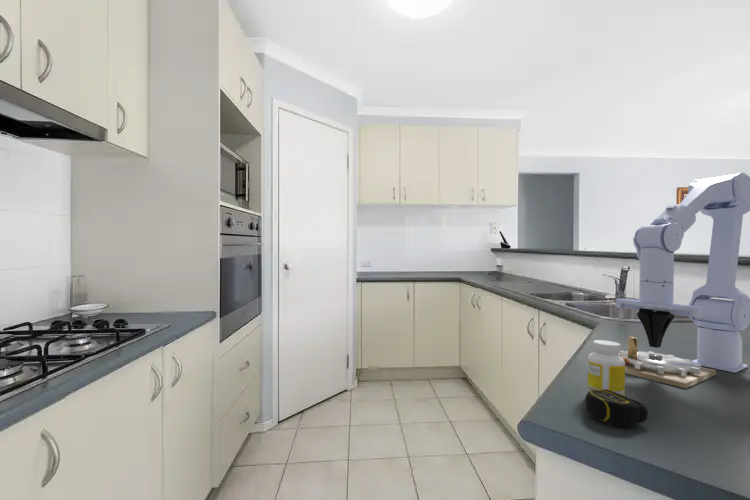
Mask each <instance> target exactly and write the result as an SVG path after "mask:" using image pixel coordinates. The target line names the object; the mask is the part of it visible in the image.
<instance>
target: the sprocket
mask: <svg viewBox="0 0 750 500" xmlns="http://www.w3.org/2000/svg"><path fill="white" fill-rule="evenodd" d="M618 355H619V356H620V357H622V358H623V359H624V361H625V364H628V365H631V366H634V367H635V368H636V369H646V370H651V371H656V372H657V373H661V374H664V373H672V374H678V375H681V376H686V374H690V373H691V374H696V375H699V374H700V371H701V367H702V366H701V365H700V364H693V363H692V361H693V360H692V359H687V358H680V357H677V356H675V355H674V354H663V353H657V352H654V351H649V350H648V351H639V338H638V337H635V336H627V350H626V351H624V350H620V353H618Z"/></svg>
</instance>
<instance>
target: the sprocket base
mask: <svg viewBox="0 0 750 500" xmlns="http://www.w3.org/2000/svg"><path fill="white" fill-rule="evenodd" d="M625 374H627V375H631V376H635V377H639V378H643V379H647V380H650V381H655V382H659V383H662V384H667V385H671V386H674V387H678V388H682V389H685V390H686V389H688V388H690V387H693V386H695V385H697V384H699V383H701V382H703V381H705V380H707V379H710V378H712V377H714V376H716V375H717V369H714V368H709V367H705V366H701V371H700V374H699V375H696V374H691V373H690V374H686V376H681V375H678V374H672V373H664V374H661V373H657V372H656V371H651V370H646V369H636V368H635V367H634V366H631V365H628V364H625Z"/></svg>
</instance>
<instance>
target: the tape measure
mask: <svg viewBox="0 0 750 500" xmlns="http://www.w3.org/2000/svg"><path fill="white" fill-rule="evenodd" d="M584 400H585V409H586V412H587V413H588V414H589V415H590V416H591V417H593V418H594V419H597V420H599V421H601V422H604V423H606V424H607V425H608V424H609V425H610V426H611V425H615V426H619V427H620V426H621V427H632V426H635V425H636V424H640V423H644V422H645V421H647V420H648V417H649V409H648V408H647V406H646V405H644V404H643V403H641V402H639V401H637V400H635V399H633V398H630V397H628V396H626V395H625V396H624V395H621V394H618V393H615V392H613V391H610V390H607V389H605V390H591V391H589V393H588V392H587V394H586V395H585V399H584Z"/></svg>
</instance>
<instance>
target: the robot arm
mask: <svg viewBox="0 0 750 500" xmlns="http://www.w3.org/2000/svg"><path fill="white" fill-rule="evenodd" d="M699 212H700V213H701V214H703V215H704V216H708V217H711V219H712V221H713V222H712V231H711V239H710V245H709V246H710V249H709V257H708V266H707V273H706V282H705V284H704V285H702V286H700V287H698V288H696V289H694V290H693V292H692V296H691V299H690V301H689V302H688V305H687V304H680V303H674V287H675V286H674V283H675V282H674V275H675V274H674V273H675V272H674V271H675V269H674V268H675V267H674V266H675V252H676V251H677V250H679V249H680V248H681V246H682V241H683V238H684V237H685V233H686V232H687V231H688V230H689V229H690V228H691V227H692V226H693V225H694V224H695V222H696V221H697V215H696V214H698V213H699ZM749 212H750V175H748V174H747V173H745V172H738V173H735V174H728V175H727V174H726V175H721V176H715V177H707V178H701V179H700V178H696V179H694V180H692V181H691V183H689V184H688V187H687V194H686V196H685V197H684V198H683V199H682V200H681V201H680V203H679V204H672V205H671V204H670V205H667V206H666V207H665V210H664V211H663V212H661V214H659V216H658V217H656V218H655V219H654V220H653V221H652V222H651V223H650V224H647V225H642V226H641V227H639V228H638V229H637V230H636V231H635V233H634V237H633V238H632V240H633V245H634V248H635V249H636V257H637V259H638V260H639V287H638V288H639V295H638V296H639V297H638V299H630V298H629V299H627V298H616V299H615V308H618V309H622V308H623V309H629V310H630V309H631V310H638V312H637V313H636V315H637V318H638V319H639V321H640V323H641V324H642V327H643V329H644V331H645V335H646V338H647V342H648V346H649V347H650V348H651V347H652V348H657V349H659V348H661V347H662V343H663V339H664V337H665V334H666V332H667V330H668V328H669V326H670V324H671V323H672V321H673V320H674V319H675V316H676V315H677V316H678V315H679V316H685V317H689V319H690V320H691V321H692V322H693V325H694V326H697V341H696V342H697V343H696V344H697V346H696V348H697V349H696V353H697V354H696V355H697V356H696V359H693V360H692V363H693V364H700V365H701V367H704V368H709V369H714V370H721V371H725V372H729V373H736V374H737V373H738V372H740V371H742V370H744V369H746V368H748V364H745V363H743V338H742V336H741V331H744V330H745V329H746V328H747V327H749V326H750V296H748V294H746V293H745V292H743V291H742V290H740V289H739V288H738V287H736V281H737V272H738V262H739V253H740V245H741V235H742V229H743V228H742V227H743V219H744V218H743V217H744V215H745V214H748V213H749Z"/></svg>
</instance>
